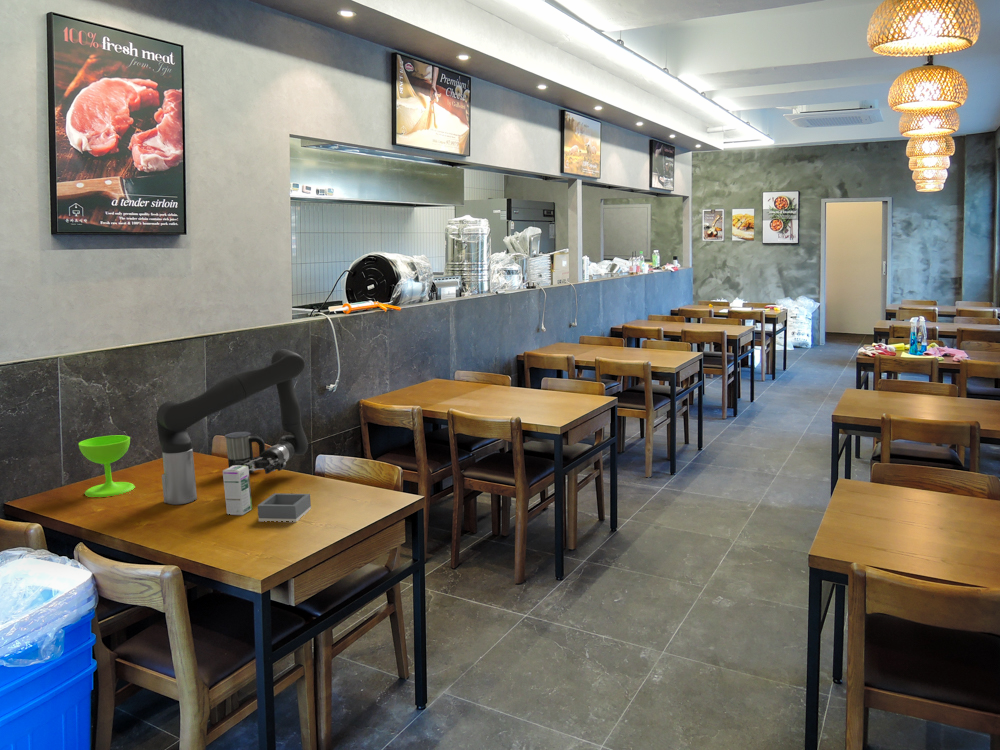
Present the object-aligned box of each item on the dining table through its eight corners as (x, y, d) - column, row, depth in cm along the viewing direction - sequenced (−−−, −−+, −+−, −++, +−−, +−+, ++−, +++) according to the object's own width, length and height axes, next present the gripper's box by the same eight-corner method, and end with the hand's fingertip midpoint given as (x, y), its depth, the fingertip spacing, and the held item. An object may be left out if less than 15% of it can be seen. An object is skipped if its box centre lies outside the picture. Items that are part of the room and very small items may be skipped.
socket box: (258, 521, 230) (257, 505, 229) (275, 508, 242) (274, 493, 241) (296, 522, 229) (295, 506, 228) (311, 509, 240) (310, 493, 240)
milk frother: (230, 477, 278) (226, 438, 276) (222, 468, 291) (219, 430, 289) (269, 471, 285) (266, 433, 282) (261, 462, 298) (258, 425, 296)
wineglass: (143, 483, 273) (138, 434, 271) (122, 497, 258) (117, 445, 255) (98, 484, 273) (92, 436, 270) (74, 498, 257) (68, 447, 254)
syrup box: (243, 515, 236) (239, 470, 234) (226, 514, 237) (222, 469, 235) (252, 509, 241) (249, 465, 239) (235, 508, 243) (232, 464, 240)
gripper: (254, 447, 265) (232, 460, 249) (293, 446, 263) (273, 459, 247) (256, 467, 266) (234, 482, 250) (294, 467, 264) (275, 482, 248)
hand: (253, 471), depth 249 cm, fingers open, 8 cm apart
